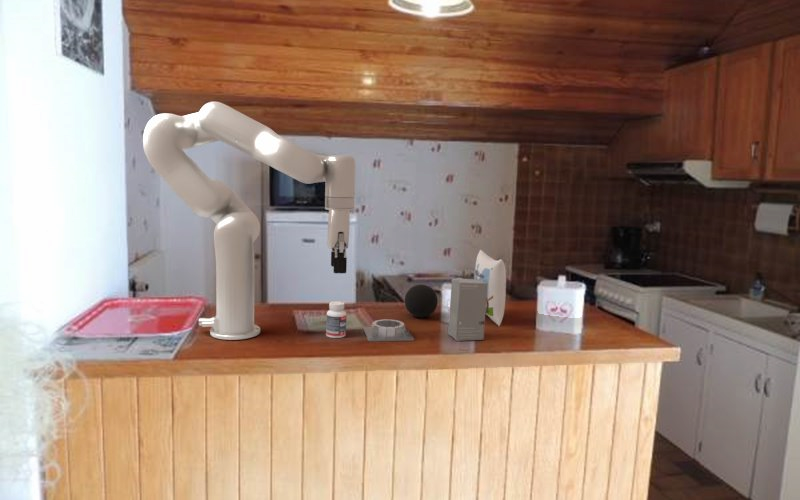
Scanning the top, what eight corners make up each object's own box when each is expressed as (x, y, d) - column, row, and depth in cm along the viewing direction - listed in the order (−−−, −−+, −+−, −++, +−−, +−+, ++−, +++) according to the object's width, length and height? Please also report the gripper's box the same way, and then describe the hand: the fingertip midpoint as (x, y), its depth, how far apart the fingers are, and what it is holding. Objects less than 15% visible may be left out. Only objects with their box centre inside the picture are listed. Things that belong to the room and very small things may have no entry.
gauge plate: (368, 341, 147) (368, 329, 147) (363, 329, 158) (363, 318, 157) (413, 340, 149) (414, 329, 149) (405, 328, 160) (406, 318, 160)
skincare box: (456, 341, 150) (459, 282, 148) (446, 333, 157) (449, 277, 155) (485, 340, 152) (489, 282, 150) (475, 332, 159) (478, 277, 157)
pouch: (491, 310, 186) (495, 249, 183) (509, 326, 167) (514, 259, 164) (467, 310, 185) (471, 249, 182) (483, 326, 166) (487, 258, 163)
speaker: (439, 314, 177) (441, 283, 176) (433, 322, 167) (434, 289, 166) (408, 311, 179) (409, 280, 178) (400, 319, 170) (401, 286, 168)
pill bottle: (342, 339, 148) (343, 306, 147) (323, 337, 149) (324, 304, 148) (348, 333, 153) (349, 301, 152) (329, 331, 154) (330, 299, 153)
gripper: (323, 201, 154) (322, 263, 156) (327, 206, 137) (325, 276, 139) (351, 202, 155) (349, 264, 157) (358, 206, 138) (356, 276, 141)
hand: (338, 269), depth 148 cm, fingers open, 9 cm apart
